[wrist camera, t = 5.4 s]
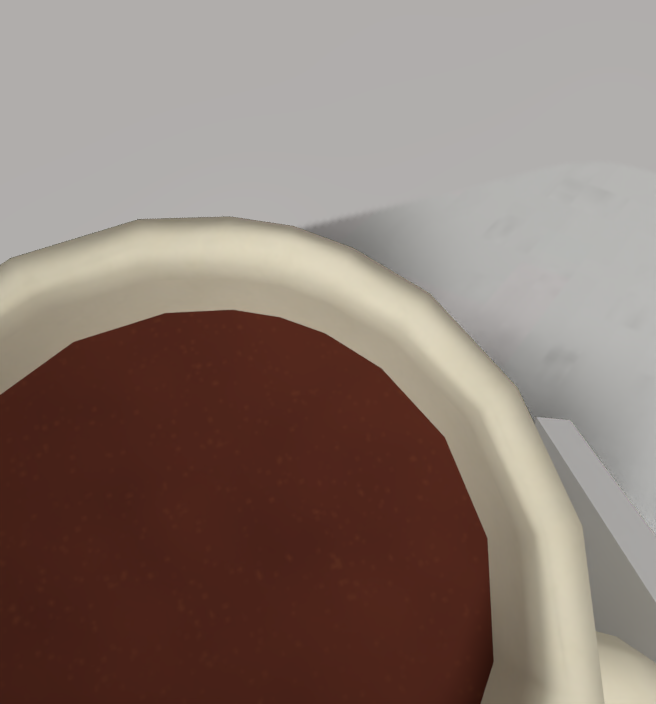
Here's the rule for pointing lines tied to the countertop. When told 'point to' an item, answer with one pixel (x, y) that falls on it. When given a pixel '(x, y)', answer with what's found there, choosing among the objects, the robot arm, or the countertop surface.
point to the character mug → (275, 487)
